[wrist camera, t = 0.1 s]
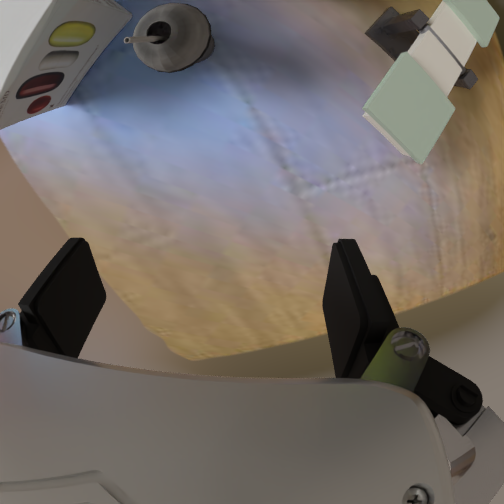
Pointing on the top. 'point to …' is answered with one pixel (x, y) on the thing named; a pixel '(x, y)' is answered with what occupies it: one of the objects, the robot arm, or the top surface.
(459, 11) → the beam
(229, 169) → the top surface
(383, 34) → the pivot stand
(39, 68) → the supplement box
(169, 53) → the beverage cup
